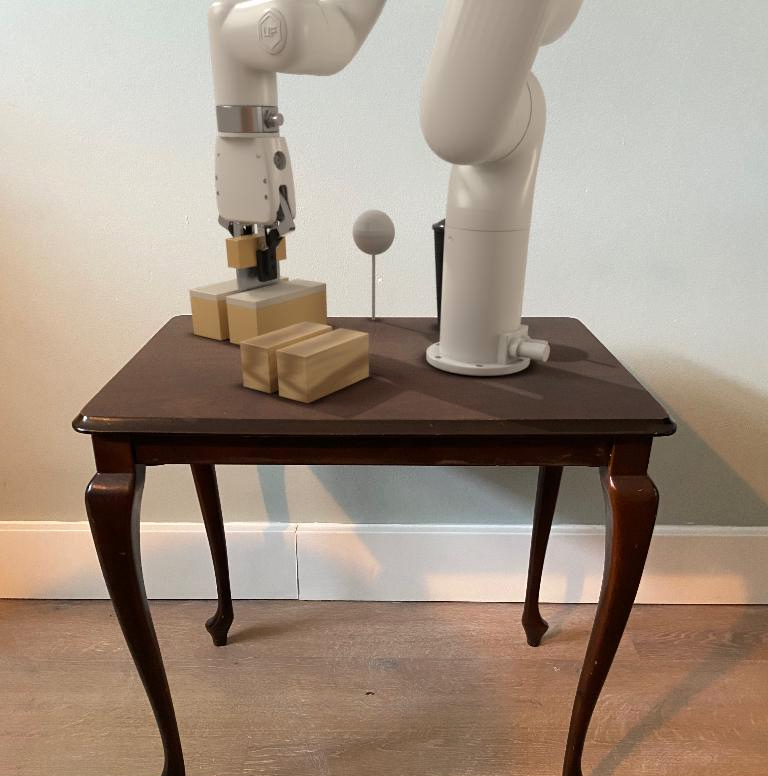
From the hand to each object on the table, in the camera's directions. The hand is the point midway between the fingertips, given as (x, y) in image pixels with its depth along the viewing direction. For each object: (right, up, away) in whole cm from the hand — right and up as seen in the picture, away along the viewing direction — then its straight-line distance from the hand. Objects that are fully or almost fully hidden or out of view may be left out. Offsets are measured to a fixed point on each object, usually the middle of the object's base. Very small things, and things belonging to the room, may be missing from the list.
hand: (259, 277), depth 98 cm
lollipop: (+15, -3, +9) cm, 18 cm away
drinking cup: (+27, -6, +5) cm, 28 cm away
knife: (0, -5, +3) cm, 6 cm away
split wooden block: (+8, -17, -15) cm, 24 cm away
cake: (0, -6, +3) cm, 7 cm away
